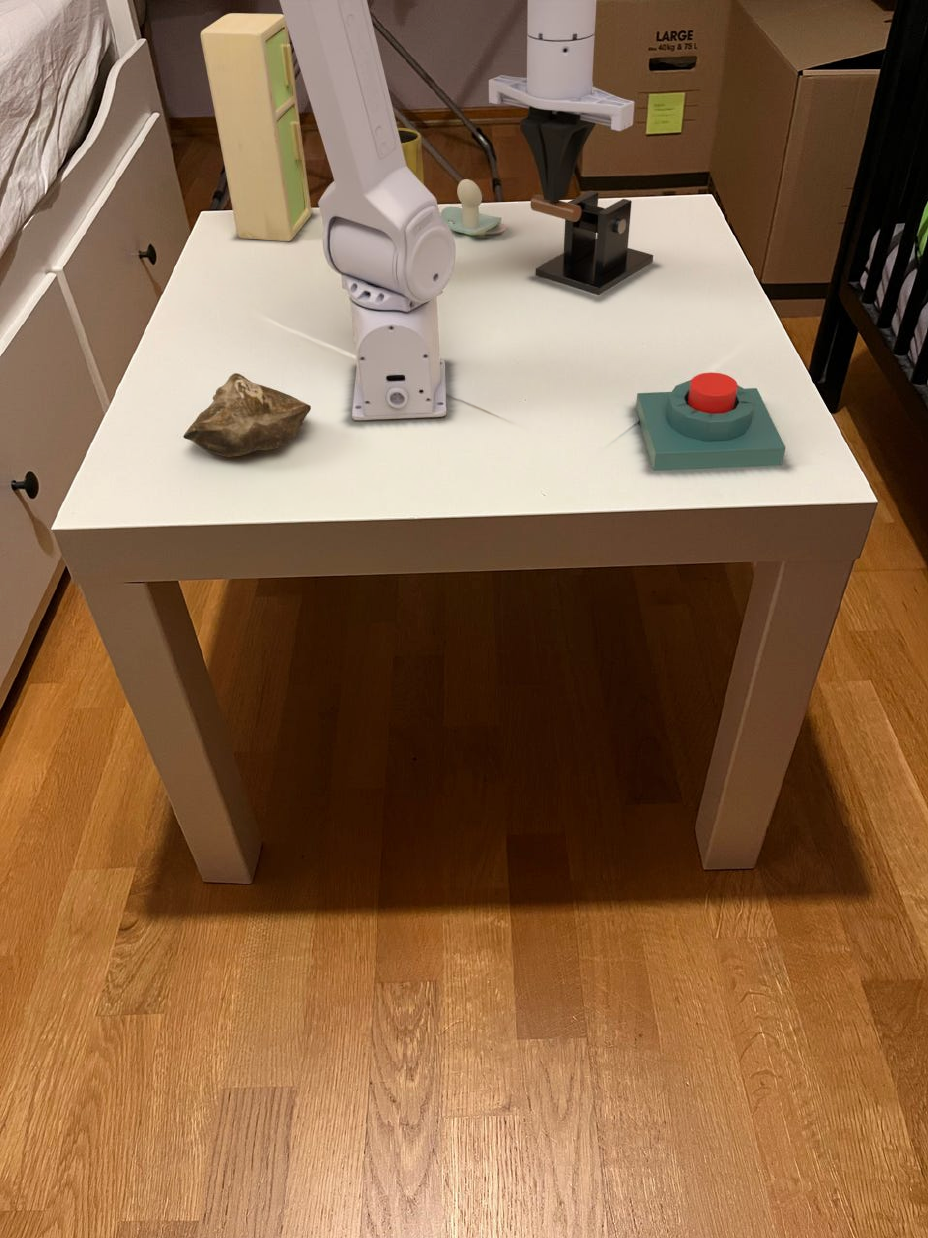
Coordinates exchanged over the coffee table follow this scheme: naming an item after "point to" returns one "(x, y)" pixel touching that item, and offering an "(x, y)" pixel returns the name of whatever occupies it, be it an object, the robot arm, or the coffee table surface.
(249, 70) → the toy refrigerator
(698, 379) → the button
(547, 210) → the lever
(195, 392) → the coffee table surface
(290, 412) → the fossilized seashell
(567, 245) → the bracket
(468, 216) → the pacifier
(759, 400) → the button block
